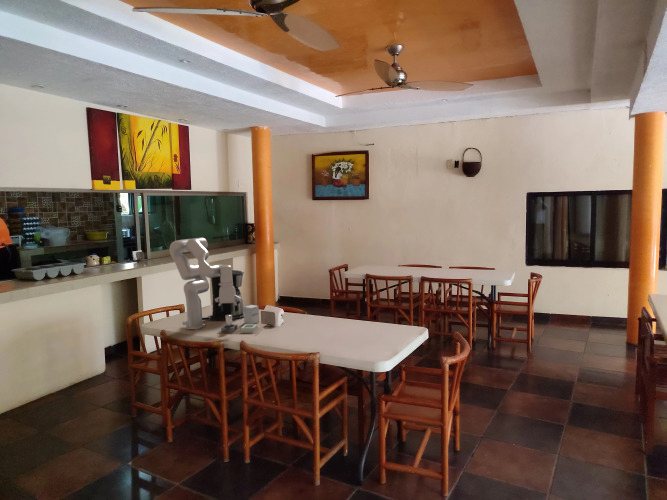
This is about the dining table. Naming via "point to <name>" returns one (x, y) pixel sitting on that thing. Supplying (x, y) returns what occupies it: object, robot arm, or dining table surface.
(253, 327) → the dock socket
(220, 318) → the coffee maker
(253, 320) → the supplement box
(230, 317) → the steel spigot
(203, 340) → the dining table surface
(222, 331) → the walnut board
